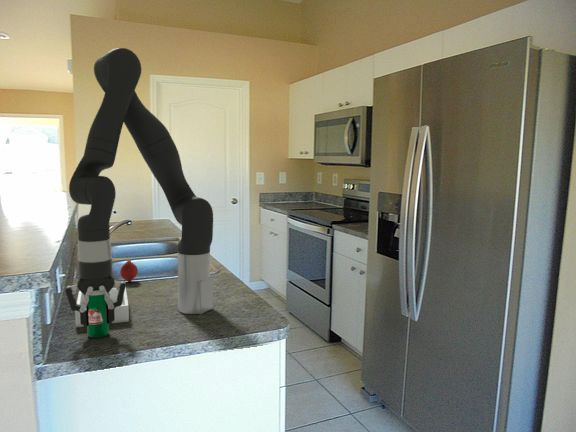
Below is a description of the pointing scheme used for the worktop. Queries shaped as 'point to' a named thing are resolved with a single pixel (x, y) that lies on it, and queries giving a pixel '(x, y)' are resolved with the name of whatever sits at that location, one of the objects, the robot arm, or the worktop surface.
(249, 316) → the worktop surface
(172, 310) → the worktop surface
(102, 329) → the soda can
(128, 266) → the onion
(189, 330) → the worktop surface
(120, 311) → the tote
